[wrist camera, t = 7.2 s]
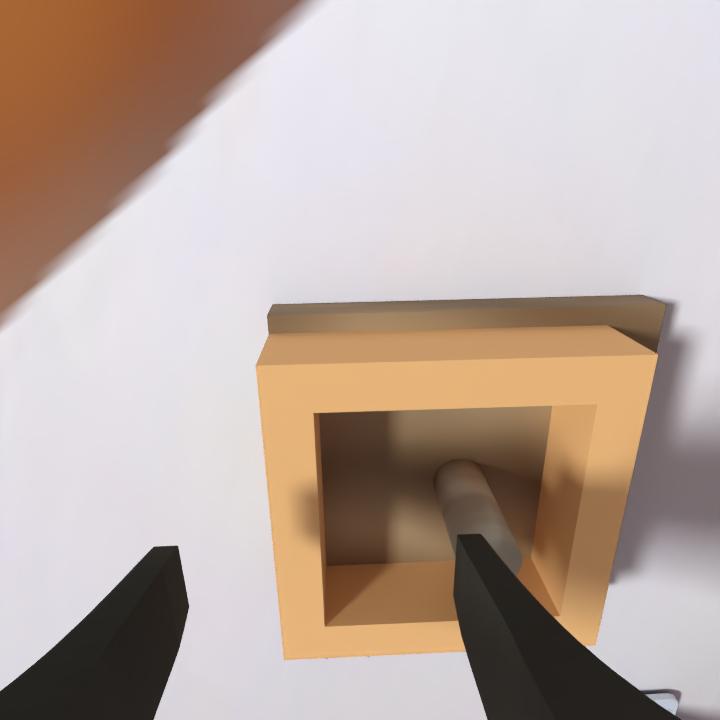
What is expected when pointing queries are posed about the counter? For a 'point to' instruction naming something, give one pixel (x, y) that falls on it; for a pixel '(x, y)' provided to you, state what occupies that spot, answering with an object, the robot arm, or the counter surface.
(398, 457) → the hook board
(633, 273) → the counter surface
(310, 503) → the wooden square frame
